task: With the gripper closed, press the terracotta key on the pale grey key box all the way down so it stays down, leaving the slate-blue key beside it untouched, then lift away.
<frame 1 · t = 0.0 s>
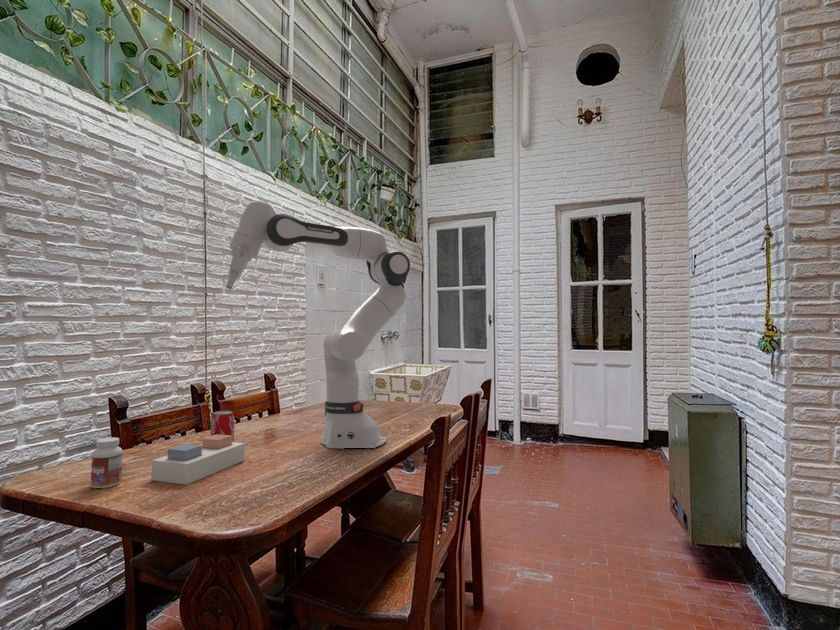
hand: (228, 287, 141), 52 cm above the table, tool tilted 20°, fingers open, 8 cm apart
soda can: (221, 450, 143), on the table
terracotta key: (217, 444, 128), point 6 cm above the table, slide at 0.0 cm
pill bottle: (106, 485, 110), on the table
slate key: (184, 454, 117), point 6 cm above the table, slide at 0.0 cm
key box: (201, 469, 122), on the table
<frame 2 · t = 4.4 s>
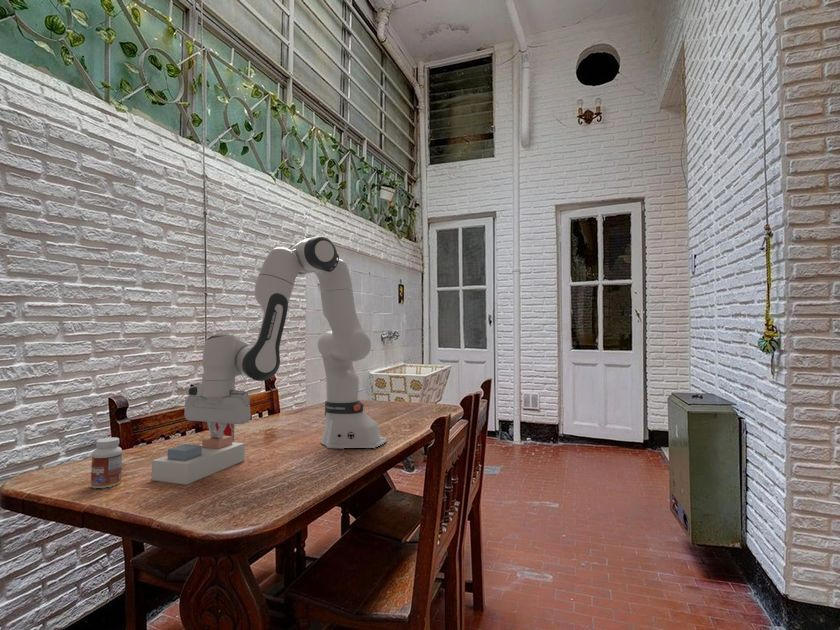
hand: (216, 437, 128), 7 cm above the table, tool pointing down, fingers closed, pressing on terracotta key
terracotta key: (217, 444, 128), point 5 cm above the table, slide at 0.2 cm, touching gripper
everything else where it was.
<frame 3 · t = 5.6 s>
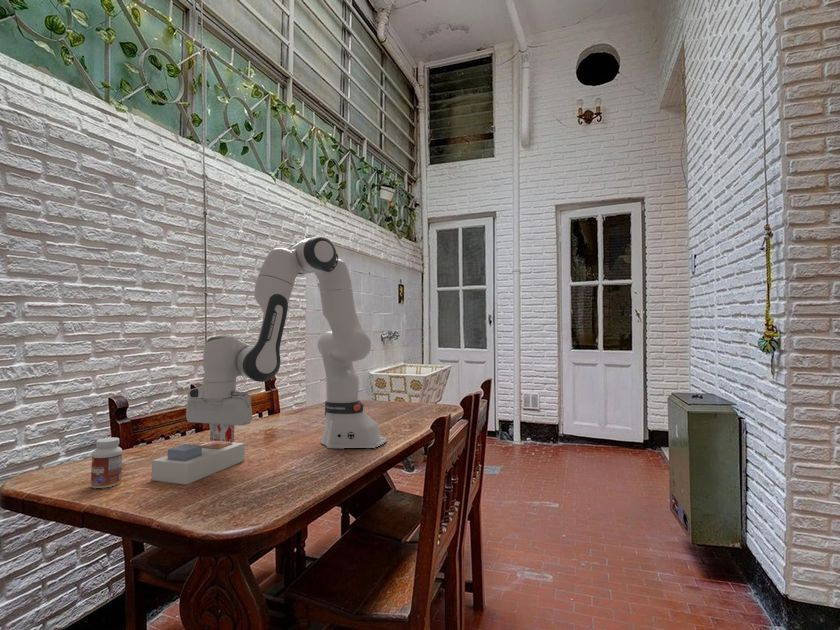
hand: (218, 439, 129), 7 cm above the table, tool pointing down, fingers closed
terracotta key: (217, 450, 128), point 4 cm above the table, slide at 1.8 cm
everything else where it was.
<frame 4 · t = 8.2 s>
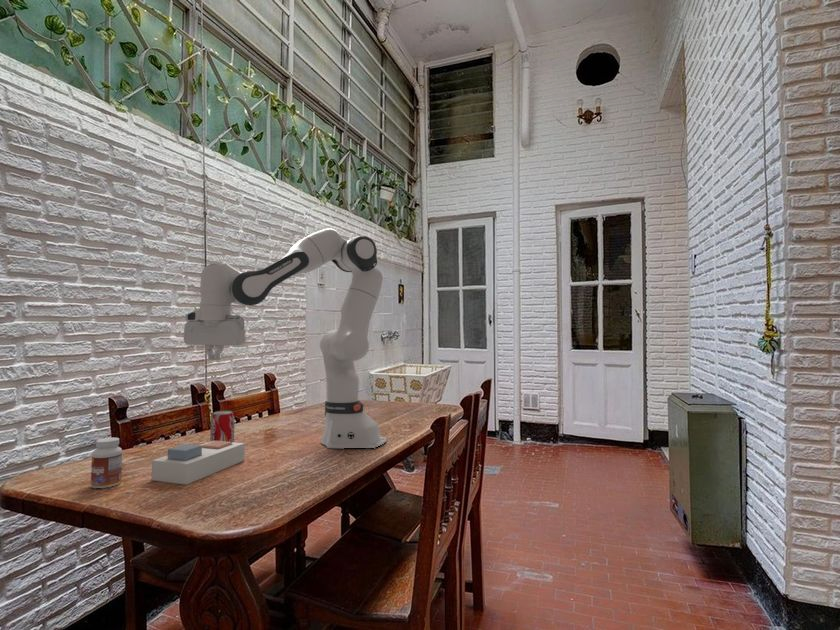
hand: (214, 360, 137), 29 cm above the table, tool pointing down, fingers closed
nothing on the table moved.
at the end: terracotta key slide at 1.8 cm; slate key slide at 0.0 cm; soda can moved 0.2 cm from its start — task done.
